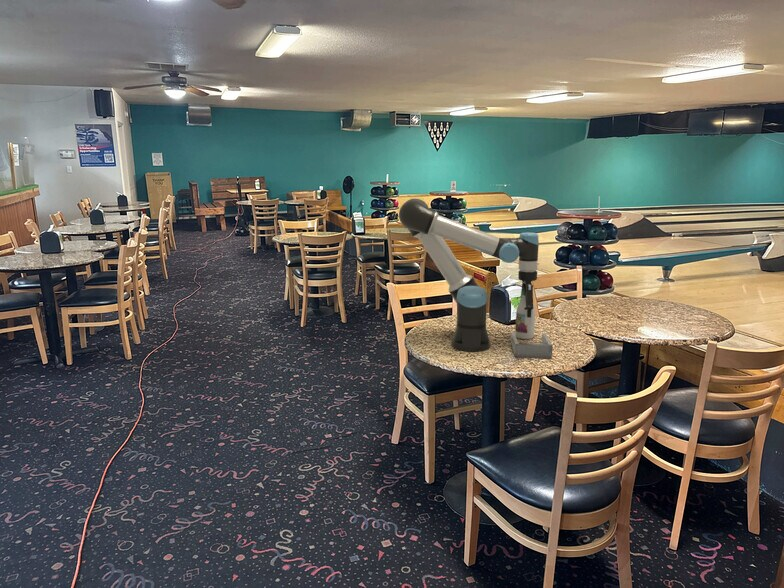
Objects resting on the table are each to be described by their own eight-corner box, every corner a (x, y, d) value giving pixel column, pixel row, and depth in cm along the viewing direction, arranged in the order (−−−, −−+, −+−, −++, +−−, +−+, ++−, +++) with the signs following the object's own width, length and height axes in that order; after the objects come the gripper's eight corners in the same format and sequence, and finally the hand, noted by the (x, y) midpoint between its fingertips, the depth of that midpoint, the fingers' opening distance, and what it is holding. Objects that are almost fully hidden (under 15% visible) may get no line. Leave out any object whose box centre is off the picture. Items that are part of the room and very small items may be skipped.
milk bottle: (527, 333, 227) (529, 288, 222) (537, 338, 220) (540, 292, 215) (511, 335, 225) (513, 289, 220) (521, 340, 217) (523, 293, 213)
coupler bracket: (515, 357, 198) (516, 344, 197) (510, 343, 213) (511, 332, 212) (551, 358, 196) (552, 345, 195) (544, 344, 212) (545, 332, 211)
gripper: (542, 276, 203) (539, 328, 208) (532, 265, 227) (530, 312, 232) (522, 276, 204) (520, 328, 209) (515, 265, 228) (513, 312, 233)
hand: (526, 320), depth 221 cm, fingers open, 13 cm apart
